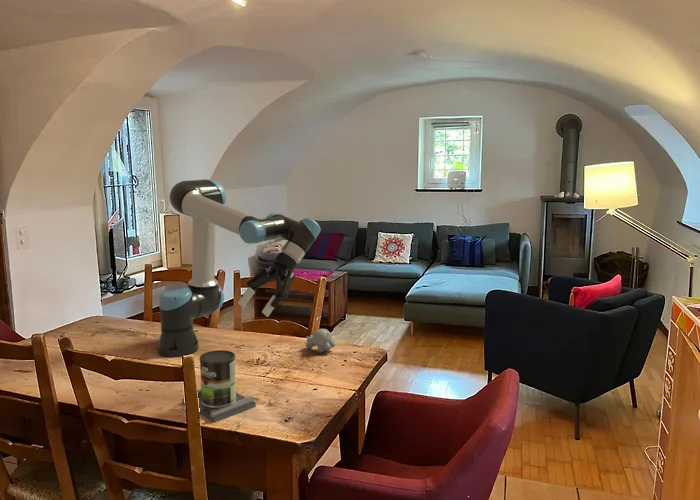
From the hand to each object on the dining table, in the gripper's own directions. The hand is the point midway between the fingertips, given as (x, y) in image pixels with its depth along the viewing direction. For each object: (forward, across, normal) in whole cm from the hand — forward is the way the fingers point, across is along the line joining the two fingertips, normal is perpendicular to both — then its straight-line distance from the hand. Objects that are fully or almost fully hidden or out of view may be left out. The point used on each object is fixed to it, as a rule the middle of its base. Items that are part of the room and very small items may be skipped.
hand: (252, 309), depth 180 cm
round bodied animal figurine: (-7, +7, -42) cm, 43 cm away
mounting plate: (+30, -7, -5) cm, 31 cm away
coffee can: (+29, -8, -4) cm, 30 cm away
